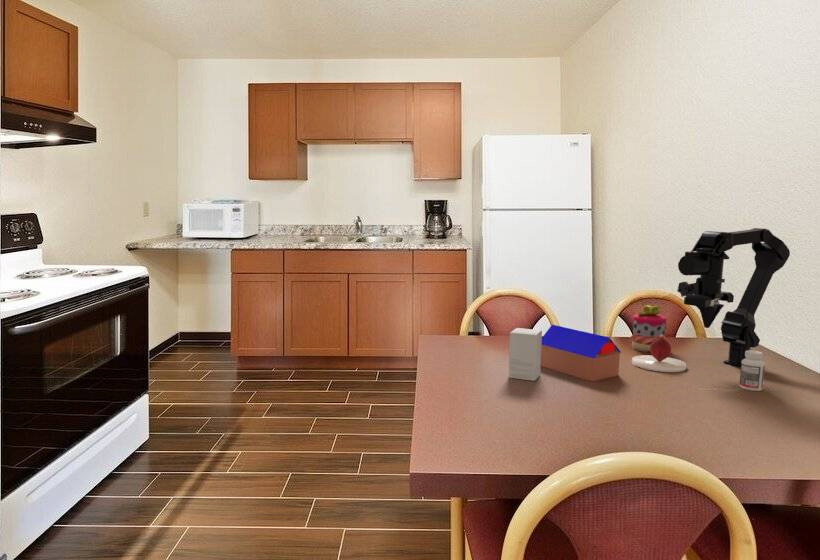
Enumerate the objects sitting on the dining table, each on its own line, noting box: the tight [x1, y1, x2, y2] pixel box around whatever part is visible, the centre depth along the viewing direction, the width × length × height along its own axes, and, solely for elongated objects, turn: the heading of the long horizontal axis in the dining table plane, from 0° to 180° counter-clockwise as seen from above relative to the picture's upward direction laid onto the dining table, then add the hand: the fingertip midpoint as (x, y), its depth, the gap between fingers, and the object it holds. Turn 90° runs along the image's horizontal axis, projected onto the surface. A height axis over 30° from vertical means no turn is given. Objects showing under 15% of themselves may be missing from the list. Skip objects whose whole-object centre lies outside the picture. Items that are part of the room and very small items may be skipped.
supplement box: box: [508, 327, 543, 382], centre depth 165 cm, size 7×7×13 cm
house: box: [540, 324, 622, 382], centre depth 173 cm, size 12×20×12 cm, turn 36°
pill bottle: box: [739, 350, 766, 392], centre depth 159 cm, size 5×5×10 cm
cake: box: [630, 305, 667, 352], centre depth 202 cm, size 10×10×15 cm
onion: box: [649, 335, 672, 361], centre depth 180 cm, size 6×6×8 cm
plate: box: [631, 354, 688, 373], centre depth 181 cm, size 15×15×1 cm
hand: (706, 327), depth 178 cm, fingers closed
